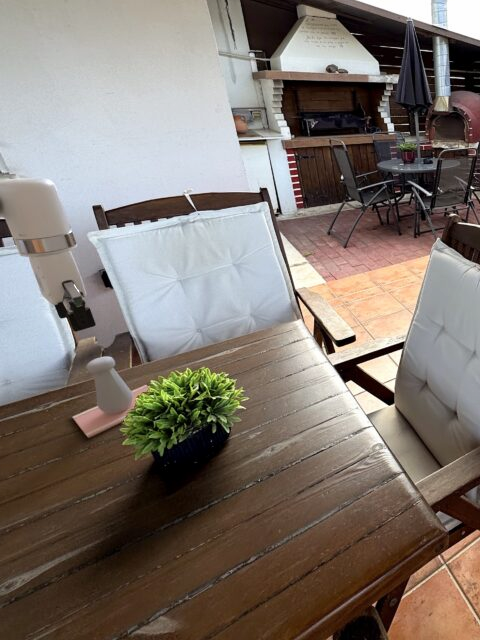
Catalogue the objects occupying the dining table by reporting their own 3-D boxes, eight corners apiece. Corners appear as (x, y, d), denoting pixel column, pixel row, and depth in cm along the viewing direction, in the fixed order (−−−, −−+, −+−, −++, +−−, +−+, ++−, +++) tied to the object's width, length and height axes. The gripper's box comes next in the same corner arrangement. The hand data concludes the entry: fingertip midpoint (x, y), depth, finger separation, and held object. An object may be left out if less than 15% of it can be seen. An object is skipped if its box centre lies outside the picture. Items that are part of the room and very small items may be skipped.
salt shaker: (140, 405, 92) (121, 357, 87) (106, 421, 87) (84, 371, 83) (130, 396, 95) (111, 349, 90) (98, 411, 90) (76, 362, 85)
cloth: (88, 438, 83) (87, 436, 83) (72, 418, 89) (71, 416, 88) (164, 402, 93) (164, 400, 93) (146, 385, 99) (145, 384, 99)
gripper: (7, 240, 78) (40, 318, 84) (28, 257, 70) (63, 342, 75) (62, 232, 84) (89, 305, 90) (88, 246, 76) (116, 326, 81)
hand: (77, 322), depth 83 cm, fingers open, 9 cm apart
